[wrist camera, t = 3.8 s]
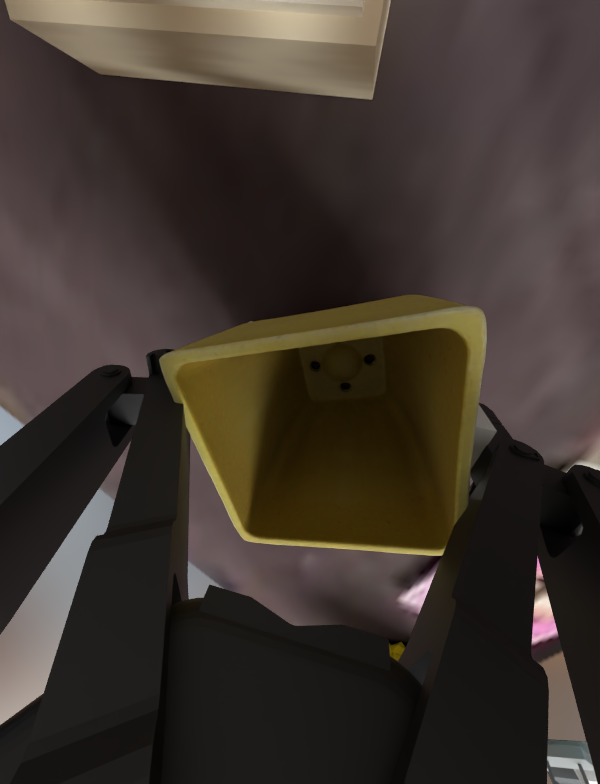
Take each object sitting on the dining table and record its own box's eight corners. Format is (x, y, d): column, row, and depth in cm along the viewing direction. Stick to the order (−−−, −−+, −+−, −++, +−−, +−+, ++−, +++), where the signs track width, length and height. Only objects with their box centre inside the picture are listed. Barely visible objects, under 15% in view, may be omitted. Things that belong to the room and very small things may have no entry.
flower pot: (253, 296, 16) (147, 357, 8) (418, 263, 13) (495, 303, 5) (288, 422, 20) (240, 543, 12) (420, 414, 17) (466, 559, 9)
